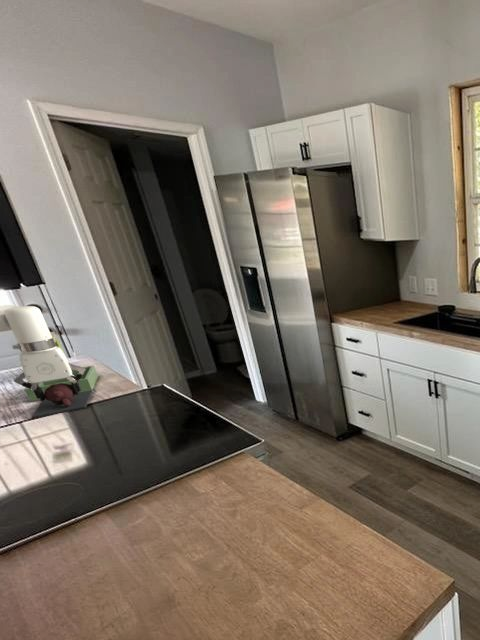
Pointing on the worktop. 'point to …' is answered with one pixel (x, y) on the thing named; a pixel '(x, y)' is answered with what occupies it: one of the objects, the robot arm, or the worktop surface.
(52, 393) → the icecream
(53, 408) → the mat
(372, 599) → the worktop surface
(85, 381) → the basket
